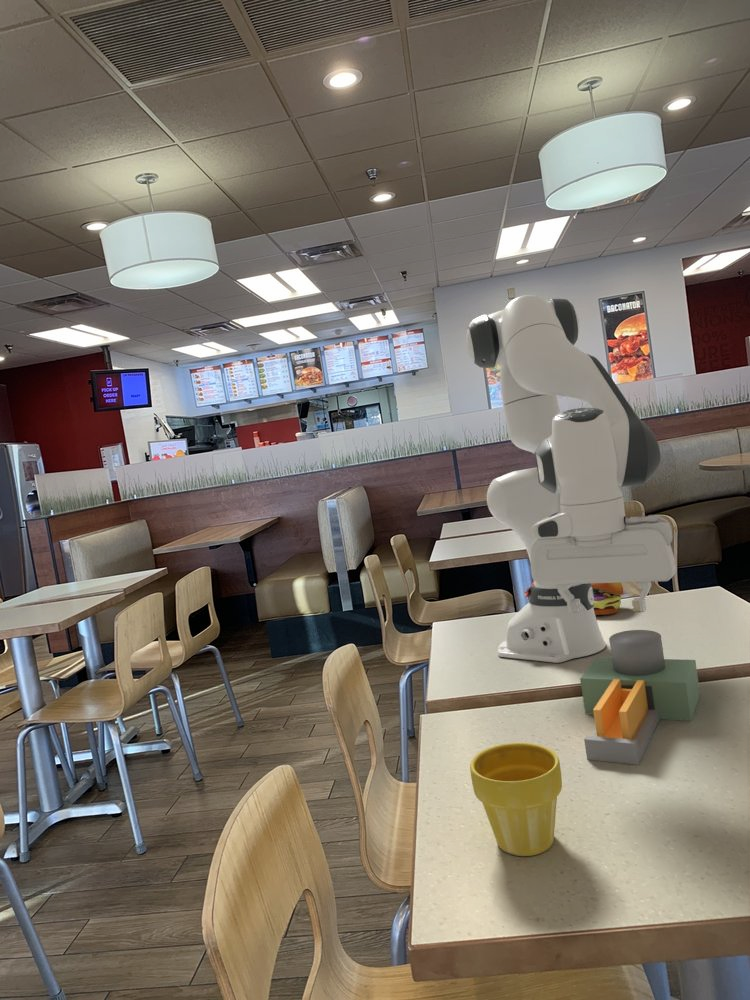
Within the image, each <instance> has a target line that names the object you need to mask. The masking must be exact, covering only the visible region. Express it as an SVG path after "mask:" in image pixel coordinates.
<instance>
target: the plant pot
mask: <svg viewBox="0 0 750 1000" xmlns="http://www.w3.org/2000/svg"><path fill="white" fill-rule="evenodd" d="M561 769H562V768H561V763H560V759H559V756H558V755H557V753H556V752H555V751H554V750H552V749H550V748H549V747H547V746H545V745H541V744H537V743H532V742H508V743H502V744H497V745H494V746H490V747H488V748H485V749H484V750H482V751H479V752H478V753H477V754H476V755H475V756H473V758H472V759H471V761H470V764H469V770H470V771H469V772H470V778H471V784H472V789H473V794H474V795H475V797H476V799H478V801H479V802H481V803H482V805H483V809H484V812H485V813H486V817H487V819H488V821H489V825H490V827H491V829H492V833H493V835H494V838H495V841H496V843H497V846H498V847H499V848H500V849H501V850H502V851H504V852H505V853H506V854H507V853H508V854H510V855H513V856H519V857H531V856H536V855H541V854H542V853H544V852H546V851H548V850H549V849H550V848H551V846H553V843H554V839H555V828H556V812H557V802H558V796H559V795H560V793H561V791H562V789H563V788H562V787H563V778H562V770H561Z"/></svg>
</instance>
